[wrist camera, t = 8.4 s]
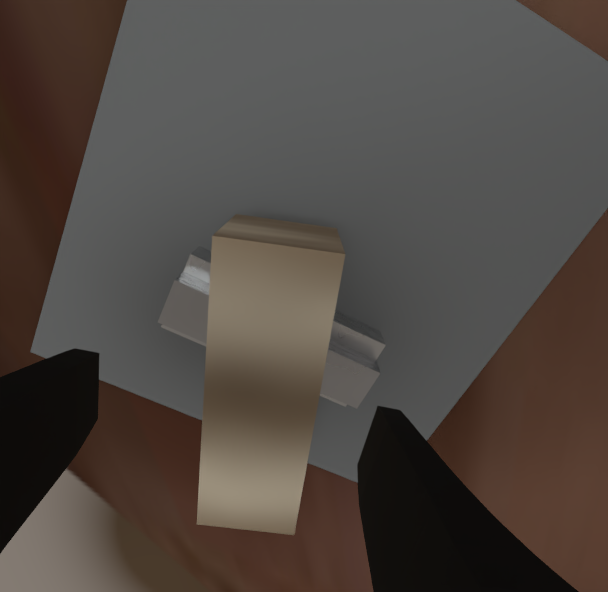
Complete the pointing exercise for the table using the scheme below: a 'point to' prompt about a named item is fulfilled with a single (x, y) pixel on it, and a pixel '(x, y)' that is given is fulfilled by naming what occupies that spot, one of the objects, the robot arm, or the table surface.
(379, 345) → the fulcrum
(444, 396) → the mat
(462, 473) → the table surface
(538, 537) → the table surface
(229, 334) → the beam
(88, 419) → the robot arm
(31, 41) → the table surface
